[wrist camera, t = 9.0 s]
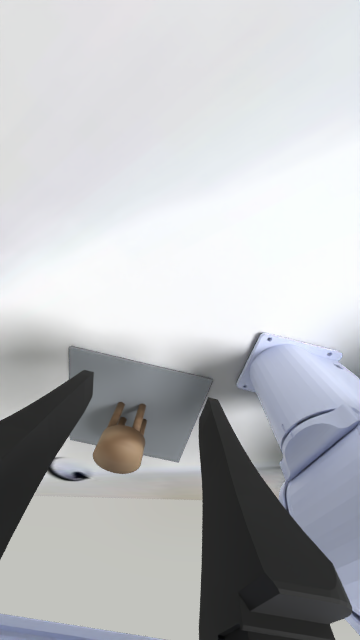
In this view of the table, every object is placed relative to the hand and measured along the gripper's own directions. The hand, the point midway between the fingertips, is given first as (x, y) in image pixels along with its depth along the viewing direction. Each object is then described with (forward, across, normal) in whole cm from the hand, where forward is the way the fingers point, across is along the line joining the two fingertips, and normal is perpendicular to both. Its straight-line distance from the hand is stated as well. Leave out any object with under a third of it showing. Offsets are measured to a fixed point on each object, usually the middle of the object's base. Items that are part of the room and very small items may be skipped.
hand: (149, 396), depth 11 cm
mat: (+10, +2, +15) cm, 18 cm away
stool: (+10, +2, +14) cm, 17 cm away
